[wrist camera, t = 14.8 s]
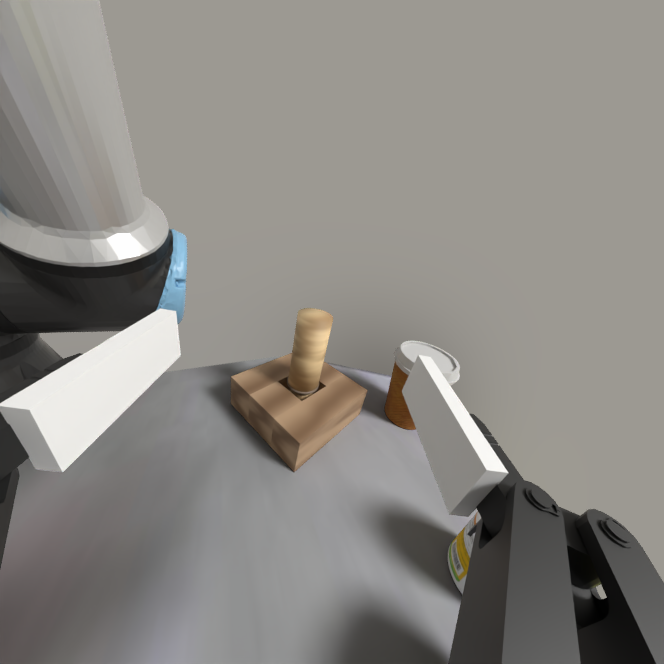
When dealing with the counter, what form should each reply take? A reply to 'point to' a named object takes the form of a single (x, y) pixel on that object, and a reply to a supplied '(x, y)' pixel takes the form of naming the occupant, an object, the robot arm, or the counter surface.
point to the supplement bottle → (461, 553)
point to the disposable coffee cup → (402, 368)
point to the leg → (308, 351)
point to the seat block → (295, 408)
